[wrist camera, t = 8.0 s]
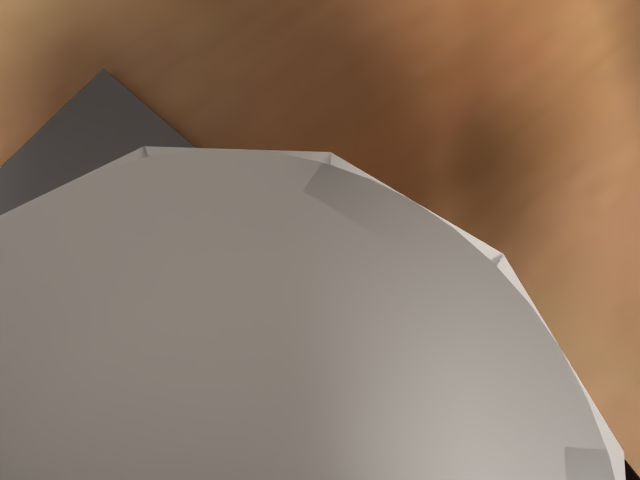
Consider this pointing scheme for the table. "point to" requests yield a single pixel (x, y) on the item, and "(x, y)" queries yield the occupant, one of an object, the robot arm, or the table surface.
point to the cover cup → (273, 333)
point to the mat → (83, 141)
